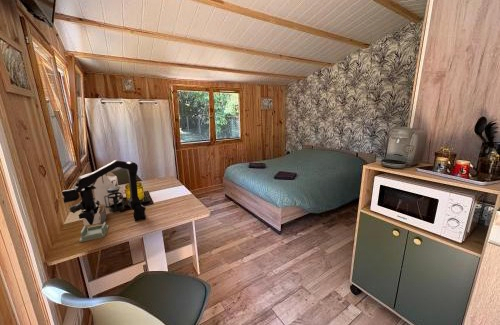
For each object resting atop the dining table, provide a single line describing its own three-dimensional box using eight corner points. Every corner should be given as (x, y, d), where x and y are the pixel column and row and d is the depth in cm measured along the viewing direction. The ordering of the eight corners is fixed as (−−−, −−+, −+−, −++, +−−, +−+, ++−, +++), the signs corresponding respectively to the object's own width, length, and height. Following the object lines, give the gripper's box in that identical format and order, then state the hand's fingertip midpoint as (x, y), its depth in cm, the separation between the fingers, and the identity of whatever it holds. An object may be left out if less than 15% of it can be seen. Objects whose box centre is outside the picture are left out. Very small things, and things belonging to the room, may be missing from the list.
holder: (108, 226, 134) (107, 219, 133) (104, 236, 123) (103, 229, 122) (85, 230, 130) (84, 224, 129) (79, 242, 118) (77, 235, 117)
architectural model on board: (101, 216, 148) (99, 203, 146) (106, 215, 150) (104, 202, 148) (99, 223, 139) (96, 210, 136) (104, 222, 140) (102, 209, 138)
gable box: (117, 204, 168) (111, 170, 161) (97, 207, 162) (90, 172, 156) (119, 194, 187) (114, 164, 181) (102, 197, 181) (95, 166, 175)
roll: (101, 220, 129) (99, 211, 128) (99, 224, 123) (97, 215, 122) (87, 223, 126) (85, 214, 125) (84, 227, 121) (82, 218, 119)
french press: (125, 205, 165) (121, 177, 159) (124, 210, 156) (120, 180, 151) (108, 208, 160) (102, 179, 154) (106, 213, 151) (100, 183, 146)
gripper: (75, 194, 126) (80, 218, 130) (63, 206, 109) (70, 233, 113) (97, 191, 130) (102, 214, 134) (89, 202, 114) (95, 228, 117)
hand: (92, 222), depth 124 cm, fingers closed on roll, 6 cm apart
